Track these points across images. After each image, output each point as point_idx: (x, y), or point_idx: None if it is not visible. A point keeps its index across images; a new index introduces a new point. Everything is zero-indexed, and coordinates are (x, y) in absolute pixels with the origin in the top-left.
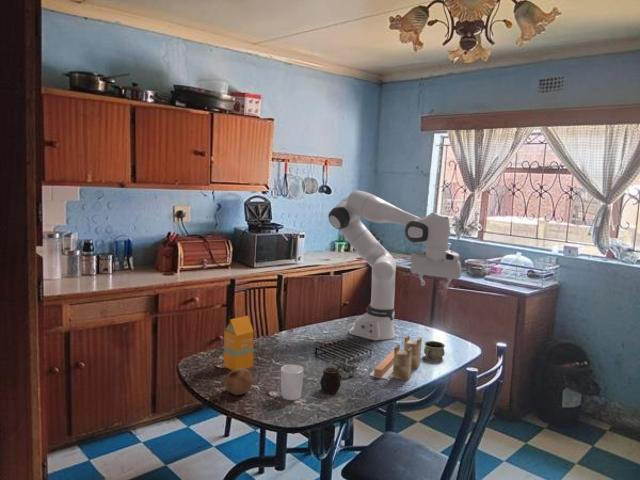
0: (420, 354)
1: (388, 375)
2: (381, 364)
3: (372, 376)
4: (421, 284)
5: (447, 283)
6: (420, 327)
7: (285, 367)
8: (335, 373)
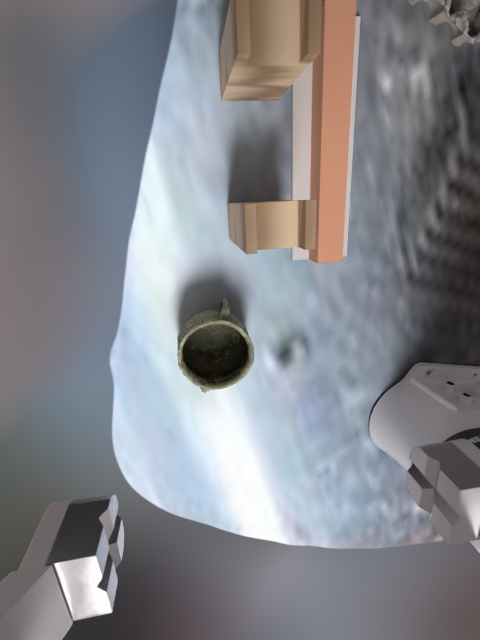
0: (235, 241)
1: None
2: (342, 69)
3: None
4: (462, 443)
5: (8, 595)
6: (322, 537)
7: None
8: None
